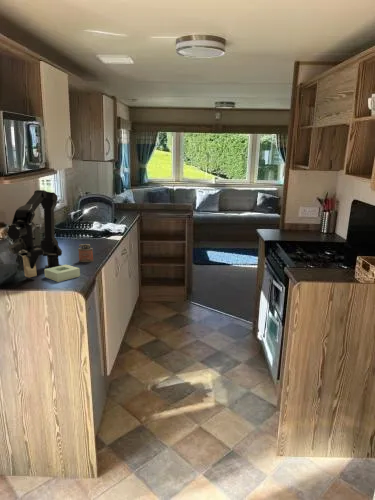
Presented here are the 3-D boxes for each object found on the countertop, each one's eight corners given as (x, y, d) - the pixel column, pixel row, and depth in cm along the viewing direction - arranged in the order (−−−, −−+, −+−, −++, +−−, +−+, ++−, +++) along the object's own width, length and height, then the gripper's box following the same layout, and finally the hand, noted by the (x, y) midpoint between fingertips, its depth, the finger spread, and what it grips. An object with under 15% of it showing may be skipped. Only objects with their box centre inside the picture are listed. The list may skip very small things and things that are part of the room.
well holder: (45, 277, 187) (44, 269, 186) (66, 271, 196) (66, 264, 195) (57, 281, 179) (57, 273, 179) (80, 276, 188) (79, 268, 187)
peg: (24, 276, 184) (22, 255, 181) (32, 274, 186) (30, 254, 184) (28, 277, 181) (26, 257, 179) (36, 275, 184) (34, 255, 182)
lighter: (94, 260, 219) (92, 243, 216) (92, 261, 215) (91, 244, 213) (79, 260, 218) (78, 243, 216) (78, 262, 215) (77, 244, 213)
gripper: (0, 235, 180) (4, 267, 183) (18, 240, 167) (22, 275, 171) (23, 232, 188) (26, 263, 191) (42, 236, 176) (45, 269, 179)
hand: (30, 267), depth 183 cm, fingers closed on peg, 4 cm apart
